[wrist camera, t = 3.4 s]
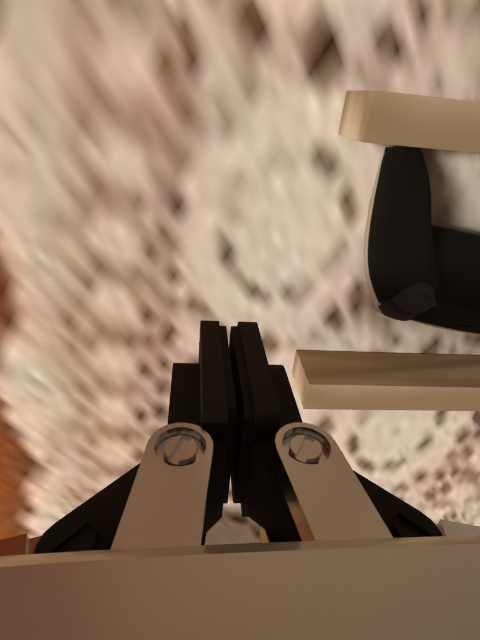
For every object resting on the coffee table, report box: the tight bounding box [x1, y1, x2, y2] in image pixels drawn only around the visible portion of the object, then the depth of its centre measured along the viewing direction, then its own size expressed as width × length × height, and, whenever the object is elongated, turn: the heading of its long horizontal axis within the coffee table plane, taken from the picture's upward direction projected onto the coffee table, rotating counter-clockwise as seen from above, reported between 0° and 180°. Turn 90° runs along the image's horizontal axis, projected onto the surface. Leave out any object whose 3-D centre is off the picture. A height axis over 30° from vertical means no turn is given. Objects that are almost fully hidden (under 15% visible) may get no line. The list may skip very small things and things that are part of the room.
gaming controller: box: [364, 146, 480, 335], centre depth 18 cm, size 11×4×7 cm
